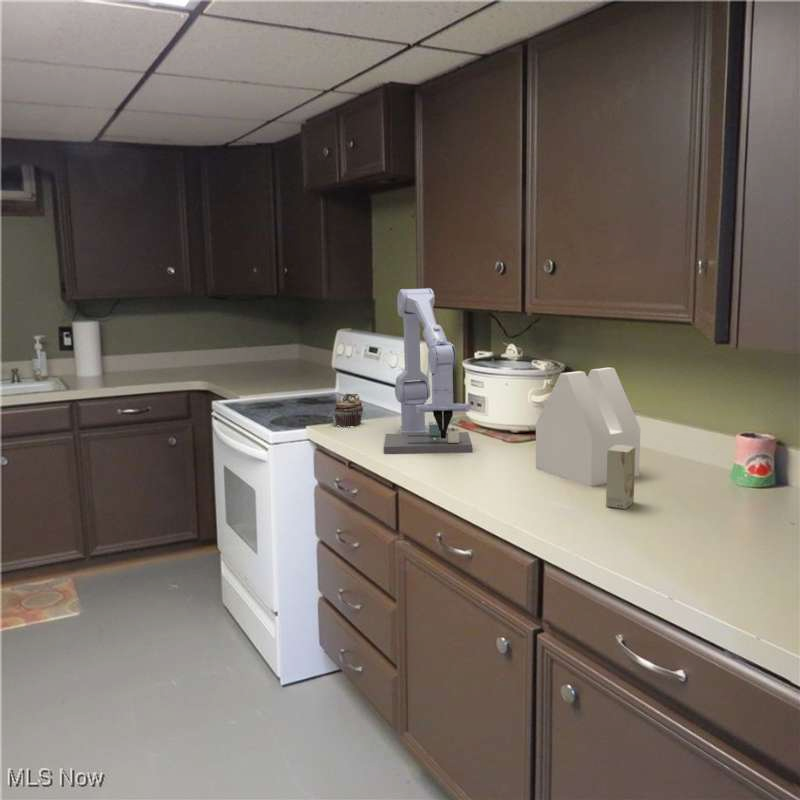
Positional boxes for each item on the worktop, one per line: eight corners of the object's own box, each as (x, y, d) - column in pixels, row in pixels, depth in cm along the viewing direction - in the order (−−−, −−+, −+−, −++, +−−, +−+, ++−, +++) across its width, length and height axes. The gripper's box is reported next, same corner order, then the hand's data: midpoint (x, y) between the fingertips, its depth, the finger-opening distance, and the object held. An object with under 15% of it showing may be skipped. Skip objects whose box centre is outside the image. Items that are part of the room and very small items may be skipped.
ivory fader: (447, 439, 215) (447, 427, 214) (458, 439, 215) (458, 427, 214) (448, 442, 211) (448, 430, 210) (459, 442, 211) (459, 430, 210)
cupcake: (338, 421, 256) (337, 391, 254) (366, 421, 254) (365, 391, 252) (330, 427, 246) (328, 396, 245) (359, 427, 244) (358, 396, 243)
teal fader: (429, 432, 224) (428, 421, 223) (439, 432, 224) (439, 421, 223) (429, 435, 220) (429, 424, 219) (439, 435, 220) (439, 424, 219)
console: (386, 440, 226) (385, 433, 226) (468, 438, 226) (468, 431, 225) (384, 454, 210) (383, 446, 210) (472, 452, 210) (472, 444, 210)
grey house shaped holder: (535, 468, 192) (536, 369, 188) (581, 459, 200) (583, 363, 195) (591, 487, 176) (593, 378, 171) (638, 476, 183) (642, 372, 179)
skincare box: (626, 510, 159) (627, 452, 157) (605, 507, 161) (606, 450, 159) (634, 501, 164) (636, 445, 162) (614, 498, 167) (615, 443, 164)
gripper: (415, 392, 207) (417, 441, 209) (470, 390, 206) (470, 440, 209) (415, 387, 214) (416, 435, 216) (468, 386, 213) (468, 434, 216)
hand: (443, 437), depth 213 cm, fingers closed
